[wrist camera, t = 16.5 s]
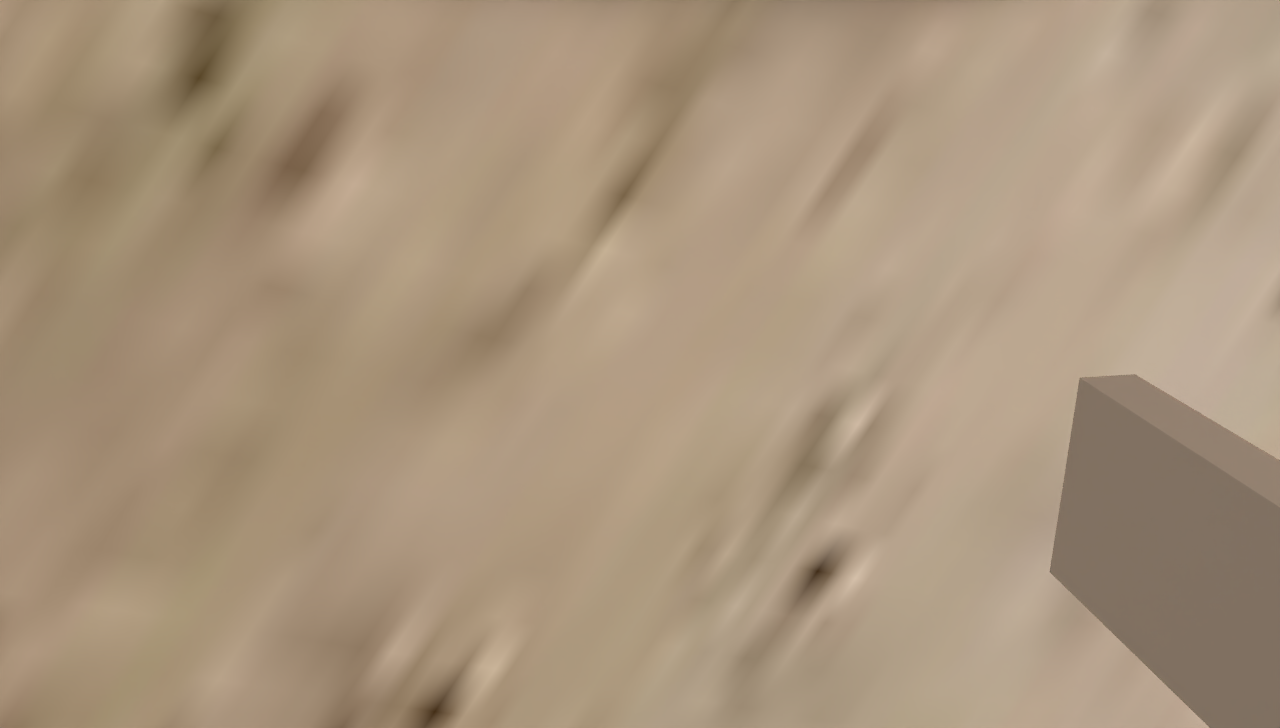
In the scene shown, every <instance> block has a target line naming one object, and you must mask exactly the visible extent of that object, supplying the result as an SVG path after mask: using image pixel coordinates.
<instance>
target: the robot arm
mask: <svg viewBox="0 0 1280 728" xmlns="http://www.w3.org/2000/svg"><path fill="white" fill-rule="evenodd" d="M1050 573H1051V574H1052V575H1053V576H1054V577H1055V578H1056V579H1058V580H1059V581H1060V582H1061V583H1062V584H1063V585H1064V586H1065V587H1066V588H1067V589H1068V590H1069V591H1070V592H1071V593H1072V594H1073V595H1074V596H1075V597H1076V598H1077V599H1078V600H1079V601H1080V602H1081V603H1082V604H1083V605H1084V606H1085V607H1086V608H1087V609H1088V610H1089V611H1090V612H1091V613H1092V614H1094V615H1095V616H1096V617H1097V618H1098V619H1099V620H1100V621H1101V622H1102V623H1103V624H1104V625H1105V626H1106V627H1107V628H1108V629H1109V630H1110V631H1111V632H1112V633H1113V634H1114V635H1115V636H1116V637H1117V638H1118V639H1119V640H1120V641H1121V642H1122V643H1123V644H1124V645H1125V646H1126V647H1127V648H1129V649H1130V650H1131V651H1132V652H1133V653H1134V654H1135V655H1136V656H1137V657H1138V658H1139V659H1140V660H1141V661H1142V662H1143V663H1144V664H1145V665H1146V666H1147V667H1148V668H1149V669H1150V670H1151V671H1152V672H1153V673H1154V674H1155V675H1156V676H1157V677H1158V678H1159V679H1160V680H1161V681H1162V682H1163V683H1165V684H1166V685H1167V686H1168V687H1169V688H1170V689H1171V690H1172V691H1173V692H1174V693H1175V694H1176V695H1177V696H1178V697H1179V698H1180V699H1181V700H1182V701H1183V702H1184V703H1185V704H1186V705H1187V706H1188V707H1189V708H1190V709H1191V710H1192V711H1193V712H1194V713H1195V714H1196V715H1197V716H1198V717H1199V718H1201V719H1202V720H1203V721H1204V722H1205V723H1206V724H1207V725H1208V726H1209V727H1210V728H1280V460H1278V459H1276V458H1275V457H1273V456H1271V455H1270V454H1268V453H1266V452H1265V451H1263V450H1261V449H1259V448H1258V447H1256V446H1254V445H1253V444H1251V443H1249V442H1248V441H1246V440H1244V439H1243V438H1241V437H1239V436H1238V435H1236V434H1234V433H1233V432H1231V431H1229V430H1228V429H1226V428H1224V427H1222V426H1221V425H1219V424H1217V423H1216V422H1214V421H1212V420H1211V419H1209V418H1207V417H1206V416H1204V415H1202V414H1201V413H1199V412H1197V411H1196V410H1194V409H1192V408H1191V407H1189V406H1187V405H1186V404H1184V403H1182V402H1180V401H1179V400H1177V399H1175V398H1174V397H1172V396H1170V395H1169V394H1167V393H1165V392H1164V391H1162V390H1160V389H1159V388H1157V387H1155V386H1154V385H1152V384H1150V383H1149V382H1147V381H1145V380H1143V379H1142V378H1140V377H1138V376H1137V375H1118V376H1101V377H1084V378H1080V379H1079V386H1078V392H1077V399H1076V405H1075V412H1074V418H1073V425H1072V431H1071V438H1070V444H1069V450H1068V457H1067V463H1066V470H1065V476H1064V483H1063V489H1062V496H1061V502H1060V509H1059V515H1058V522H1057V528H1056V535H1055V541H1054V548H1053V554H1052V560H1051V567H1050Z"/></svg>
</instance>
